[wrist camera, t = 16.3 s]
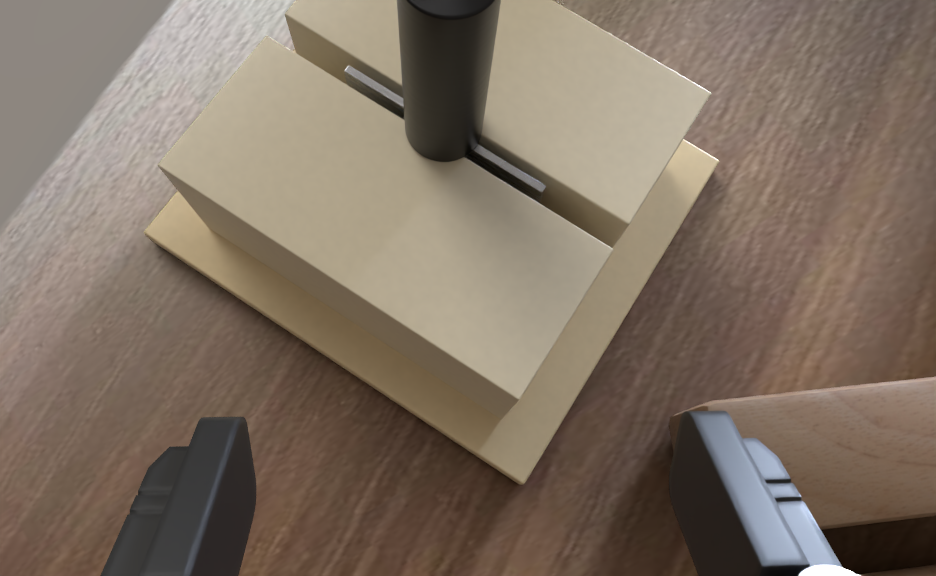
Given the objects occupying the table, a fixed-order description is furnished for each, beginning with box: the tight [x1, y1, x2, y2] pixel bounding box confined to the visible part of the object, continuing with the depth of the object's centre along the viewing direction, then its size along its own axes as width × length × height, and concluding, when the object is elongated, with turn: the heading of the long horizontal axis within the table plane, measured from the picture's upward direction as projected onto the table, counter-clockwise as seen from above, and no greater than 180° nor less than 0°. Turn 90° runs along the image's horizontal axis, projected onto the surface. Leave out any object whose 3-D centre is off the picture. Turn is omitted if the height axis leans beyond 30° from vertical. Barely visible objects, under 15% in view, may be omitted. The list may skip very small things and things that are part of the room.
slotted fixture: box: [144, 0, 719, 485], centre depth 29 cm, size 18×16×7 cm
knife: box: [344, 0, 546, 204], centre depth 25 cm, size 8×3×14 cm, turn 57°
